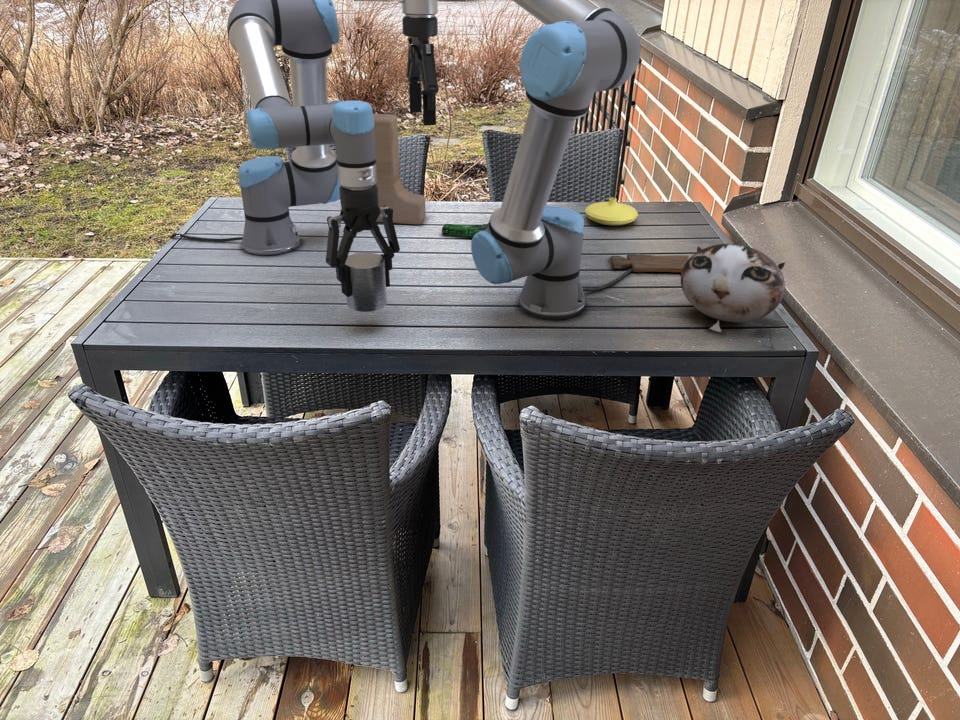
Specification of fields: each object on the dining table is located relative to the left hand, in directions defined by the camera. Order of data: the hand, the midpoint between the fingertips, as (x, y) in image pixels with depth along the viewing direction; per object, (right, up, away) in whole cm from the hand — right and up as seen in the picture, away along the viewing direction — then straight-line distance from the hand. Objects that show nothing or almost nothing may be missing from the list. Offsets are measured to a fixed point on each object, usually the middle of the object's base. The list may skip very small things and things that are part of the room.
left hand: (366, 289), depth 152 cm
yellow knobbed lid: (+64, +27, +65) cm, 95 cm away
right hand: (+11, +40, +11) cm, 43 cm away
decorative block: (0, +27, +63) cm, 69 cm away
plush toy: (+80, -6, +11) cm, 81 cm away
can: (0, -3, +2) cm, 3 cm away
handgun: (+23, +22, +56) cm, 64 cm away
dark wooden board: (+72, +9, +36) cm, 81 cm away
